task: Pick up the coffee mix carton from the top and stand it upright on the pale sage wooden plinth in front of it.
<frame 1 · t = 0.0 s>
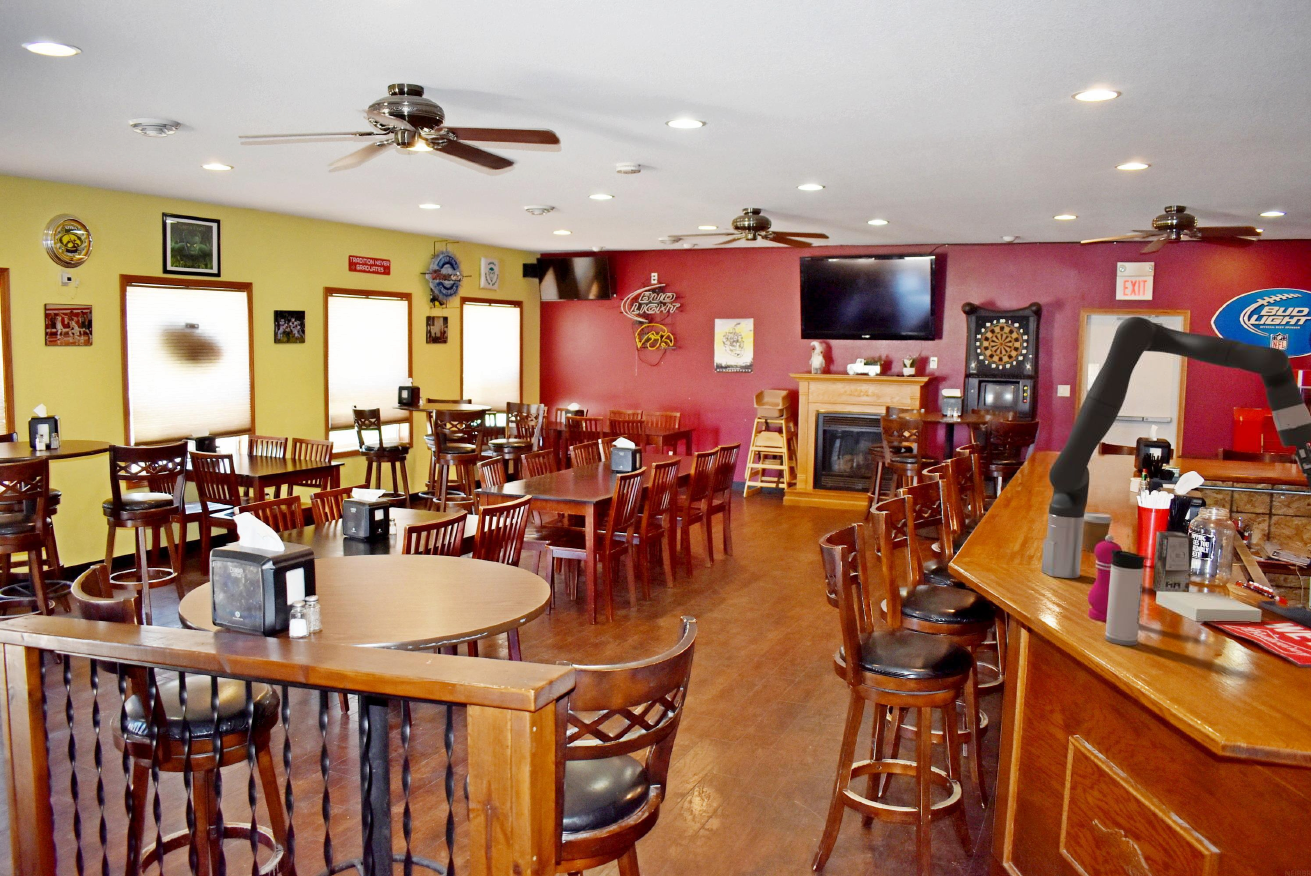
coffee box: (1169, 594, 245), on the table
plinth: (1206, 612, 227), on the table
travel mug: (1120, 642, 200), on the table
pepper mill: (1102, 619, 219), on the table
disposable coffee cup: (1093, 551, 299), on the table
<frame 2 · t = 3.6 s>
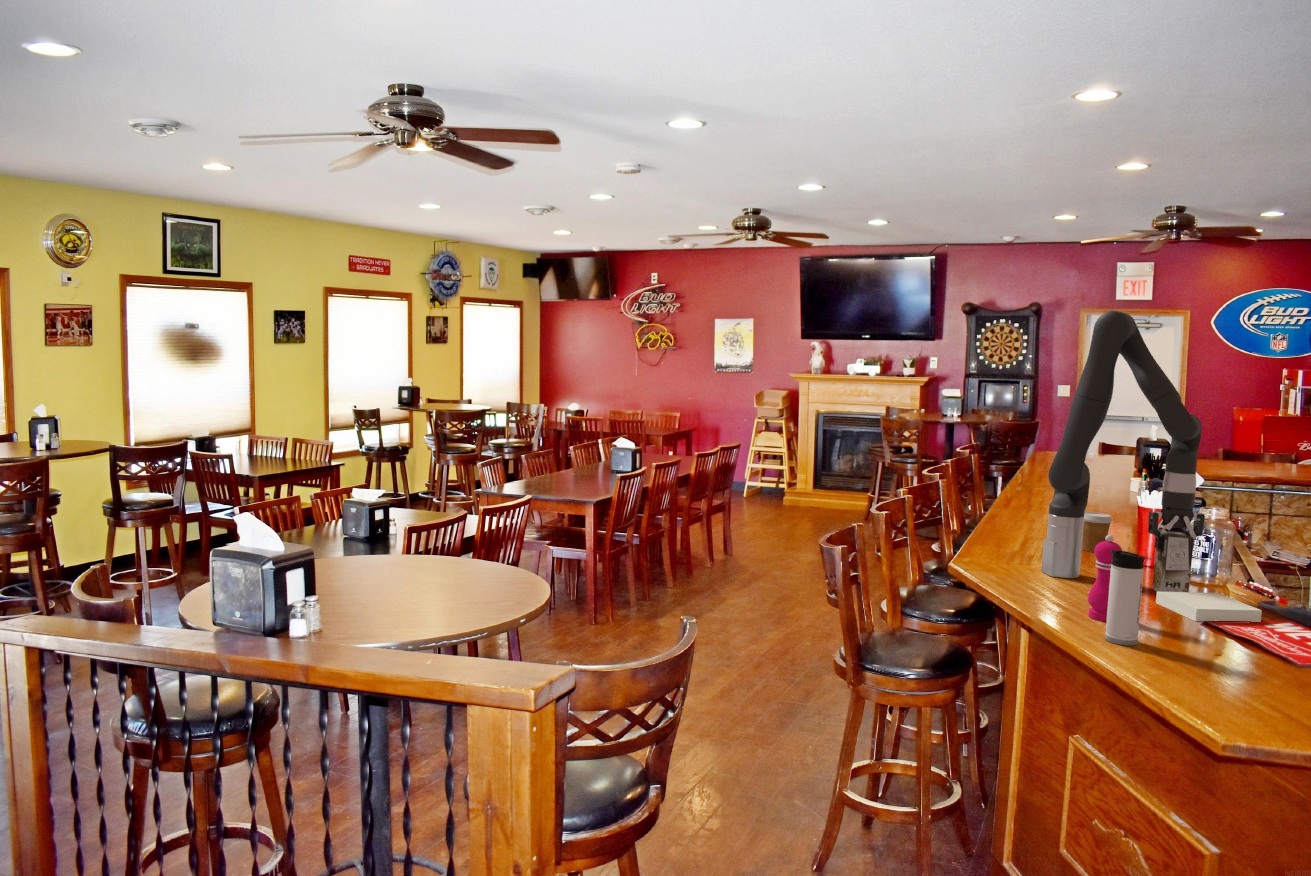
hand: (1173, 551, 244), 11 cm above the table, tool pointing down, fingers closed on coffee box, 7 cm apart
coffee box: (1169, 594, 245), on the table, touching gripper
everything else where it was.
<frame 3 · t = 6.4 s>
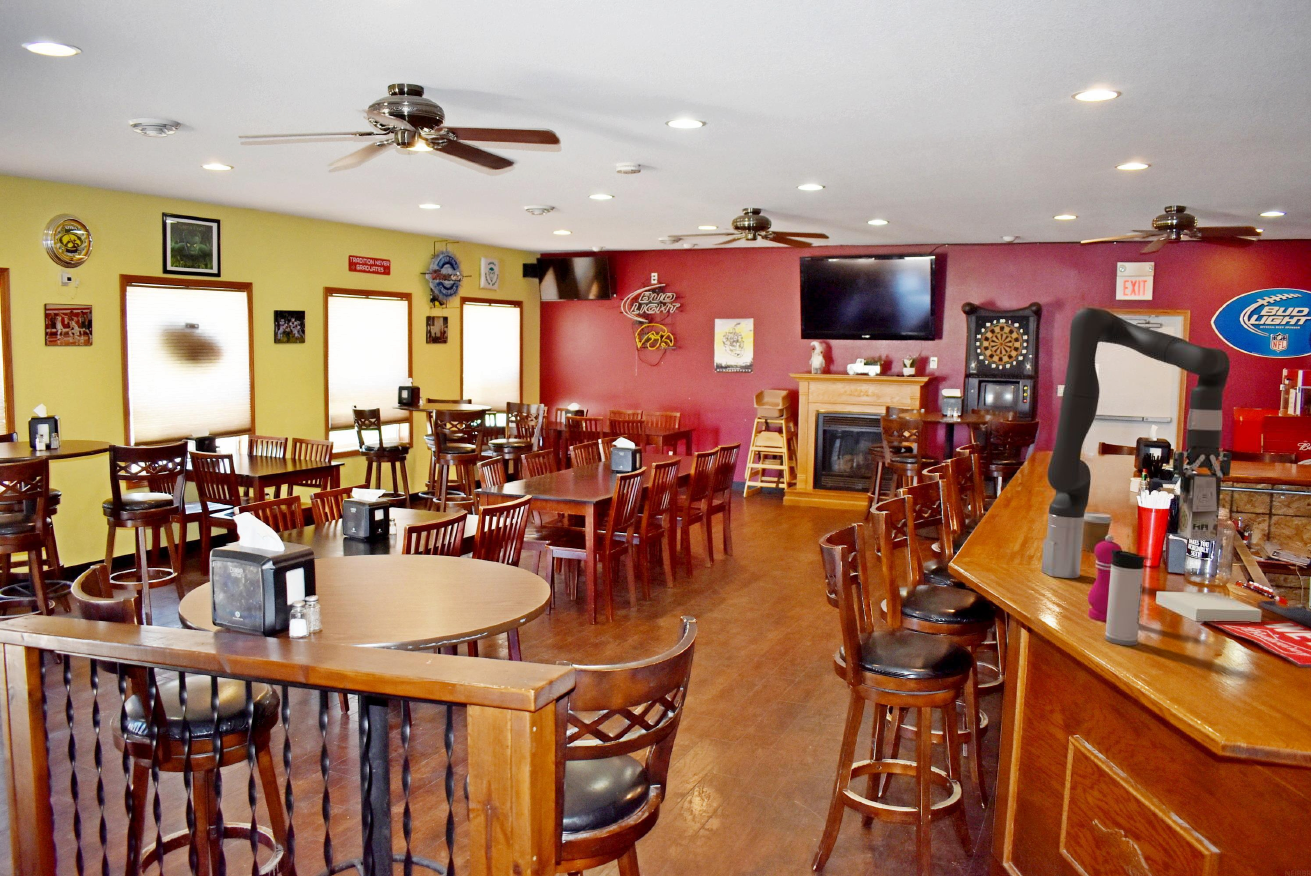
hand: (1199, 492, 233), 29 cm above the table, tool pointing down, fingers closed on coffee box, 7 cm apart
coffee box: (1196, 538, 234), point 17 cm above the table, touching gripper
everything else where it was.
when the fingers open (16 cm above the table, at t = 9.6 s): coffee box drops 2 cm, resting on plinth.
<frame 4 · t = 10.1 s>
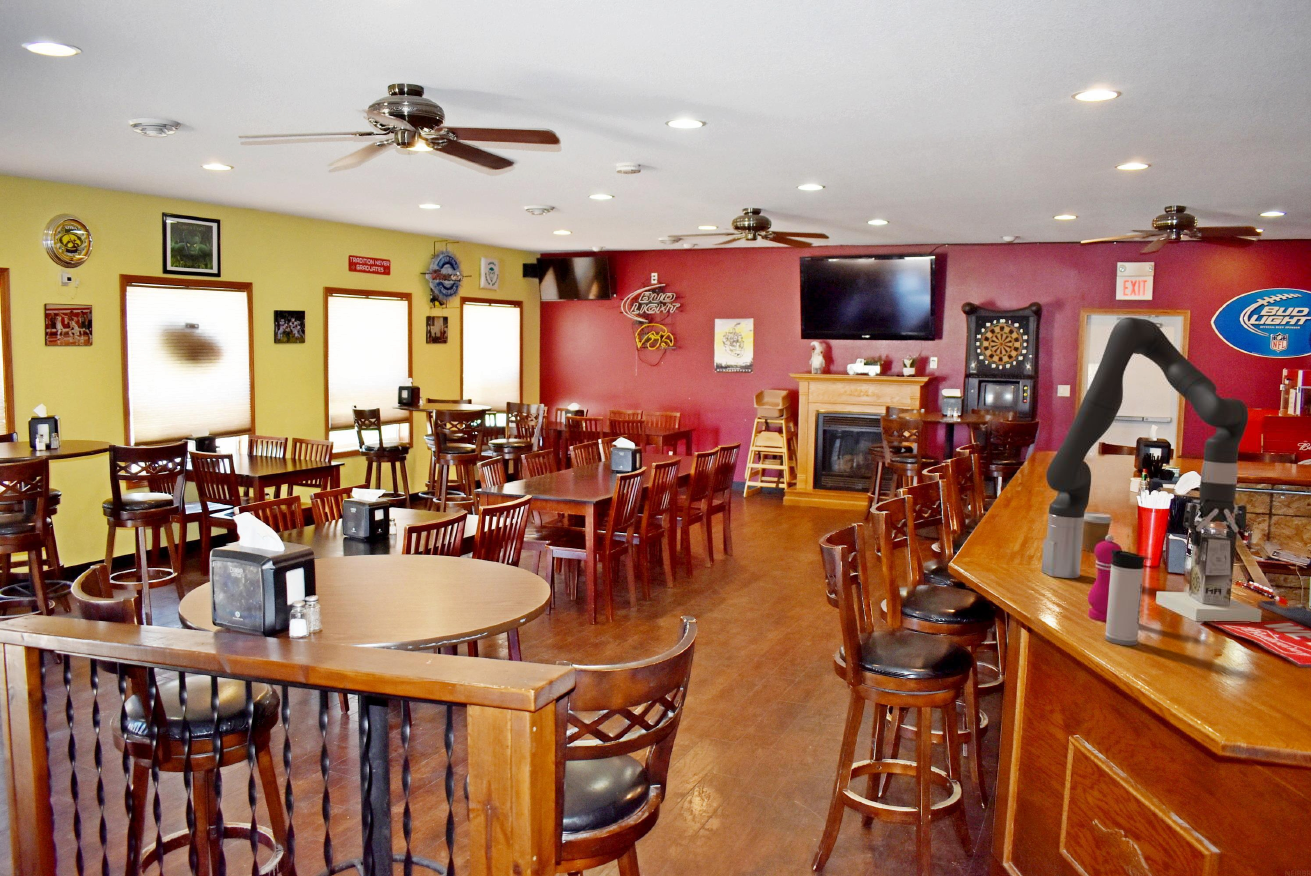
hand: (1212, 546, 226), 17 cm above the table, tool pointing down, fingers open, 8 cm apart
coffee box: (1208, 601, 227), point 3 cm above the table, touching plinth
everything else where it was.
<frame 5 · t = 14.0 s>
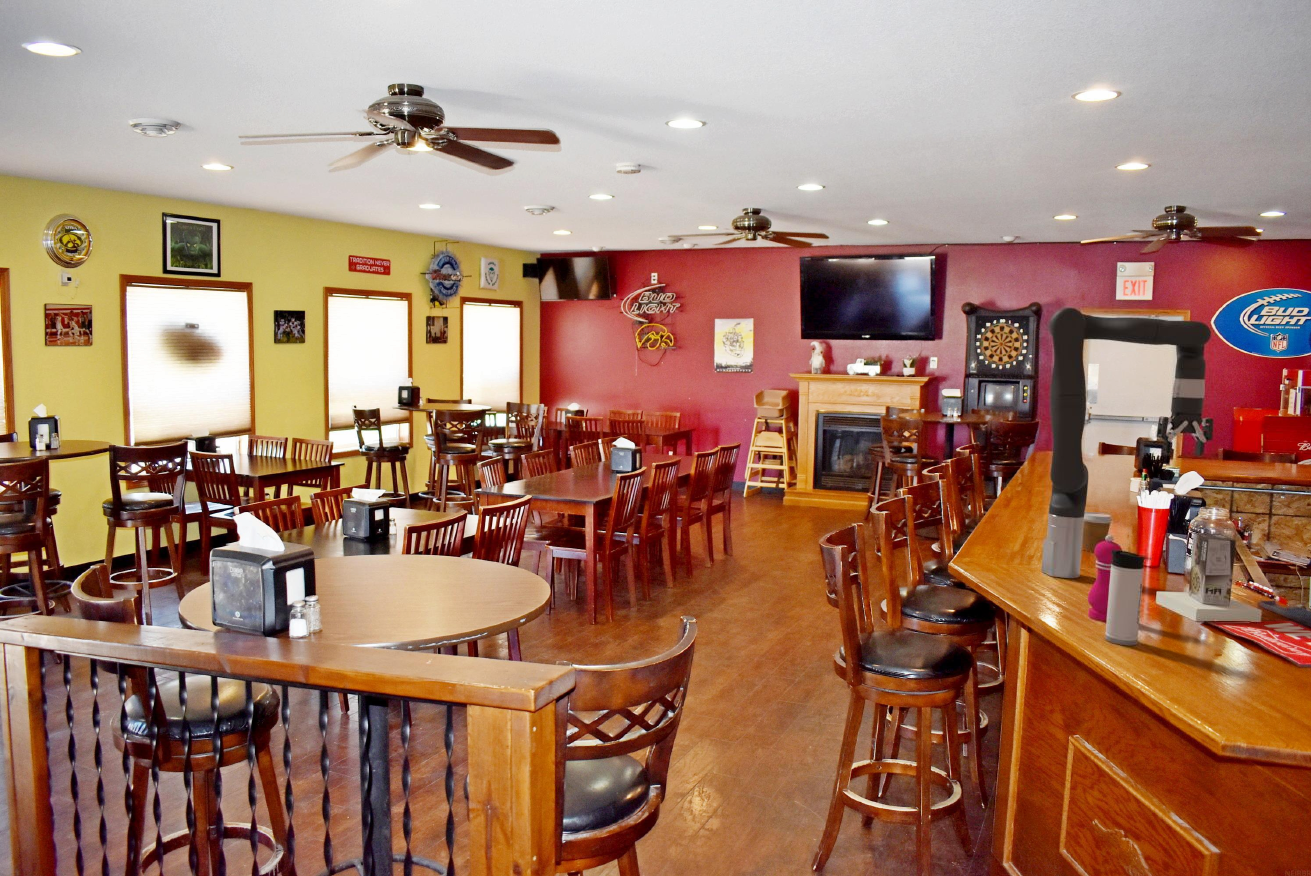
hand: (1182, 455, 251), 36 cm above the table, tool pointing down, fingers open, 8 cm apart
nothing on the table moved.
at the end: coffee box inside the target area on the plinth (0.4 cm from its centre), point 2.8 cm above the plinth's base; coffee box tilted 0°; the gripper is holding nothing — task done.
